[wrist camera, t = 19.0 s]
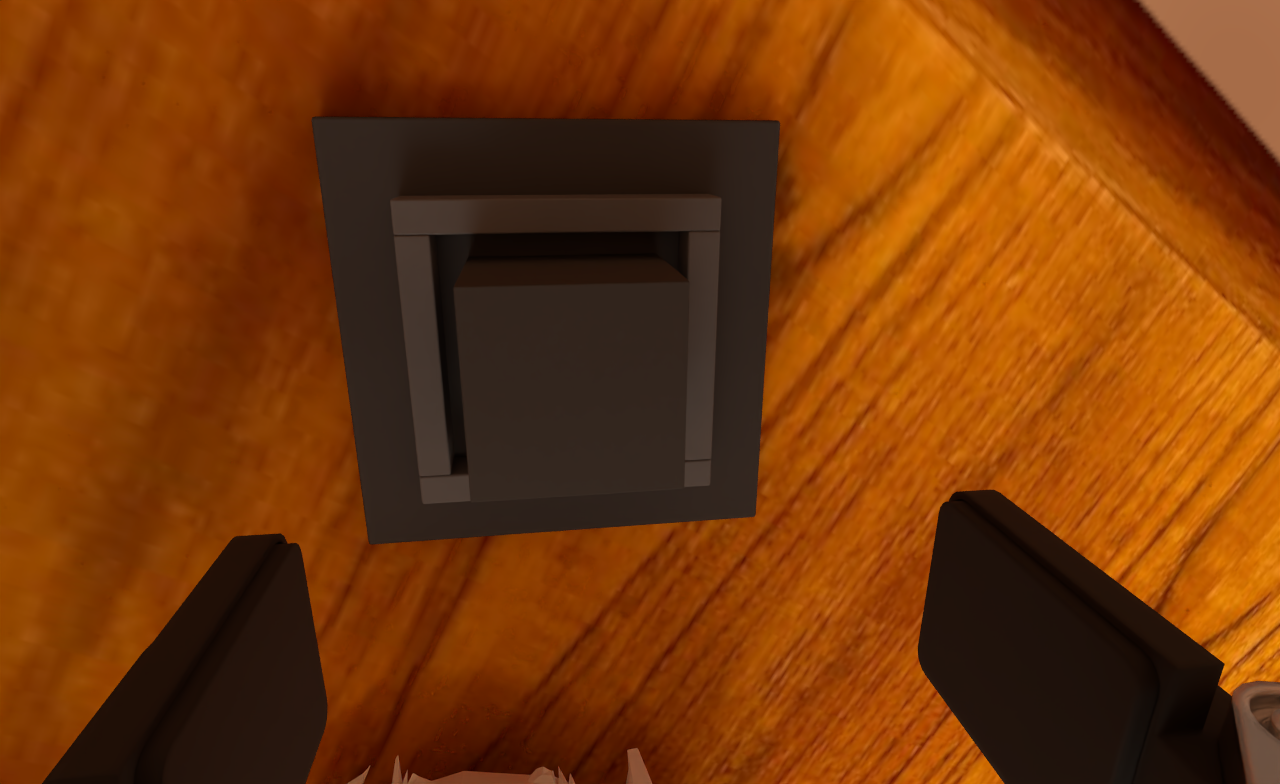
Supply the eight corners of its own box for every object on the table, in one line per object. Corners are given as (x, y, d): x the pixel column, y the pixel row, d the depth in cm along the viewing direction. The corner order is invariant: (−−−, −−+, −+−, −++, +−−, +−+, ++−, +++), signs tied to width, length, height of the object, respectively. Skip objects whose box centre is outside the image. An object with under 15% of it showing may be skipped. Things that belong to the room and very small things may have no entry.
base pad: (319, 117, 22) (294, 114, 19) (770, 121, 24) (798, 119, 21) (374, 530, 26) (359, 569, 24) (748, 505, 28) (768, 538, 26)
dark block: (467, 256, 23) (452, 286, 18) (657, 253, 23) (690, 280, 19) (480, 434, 25) (470, 503, 20) (655, 425, 25) (684, 489, 21)
